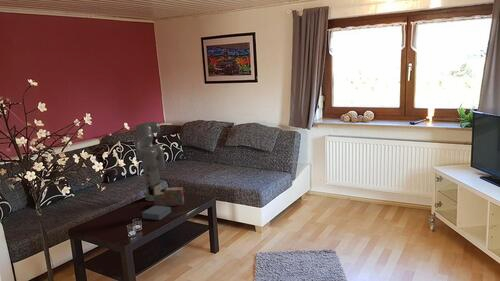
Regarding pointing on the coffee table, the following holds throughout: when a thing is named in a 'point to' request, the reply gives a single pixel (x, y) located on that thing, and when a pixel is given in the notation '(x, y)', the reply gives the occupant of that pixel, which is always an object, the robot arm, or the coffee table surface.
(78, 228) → the coffee table surface
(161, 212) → the slate base plinth
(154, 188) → the cream block
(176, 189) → the stack of blocks
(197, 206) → the coffee table surface
